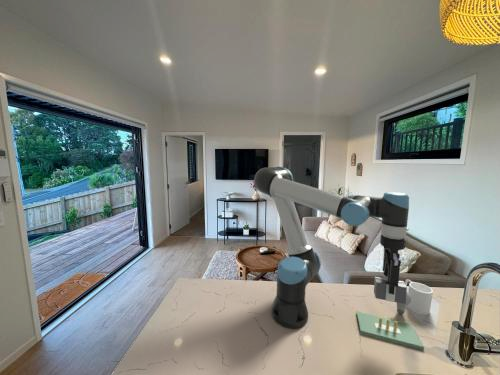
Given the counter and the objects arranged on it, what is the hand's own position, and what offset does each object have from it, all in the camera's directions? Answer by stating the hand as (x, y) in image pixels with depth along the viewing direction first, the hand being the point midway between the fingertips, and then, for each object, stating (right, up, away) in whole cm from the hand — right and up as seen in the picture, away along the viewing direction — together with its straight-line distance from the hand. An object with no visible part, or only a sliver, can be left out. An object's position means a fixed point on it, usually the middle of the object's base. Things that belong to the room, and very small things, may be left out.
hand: (388, 296), depth 79 cm
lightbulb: (+14, -14, +13) cm, 24 cm away
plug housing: (0, 0, 0) cm, 0 cm away
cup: (+24, -14, +19) cm, 34 cm away
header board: (+2, -15, +4) cm, 16 cm away
